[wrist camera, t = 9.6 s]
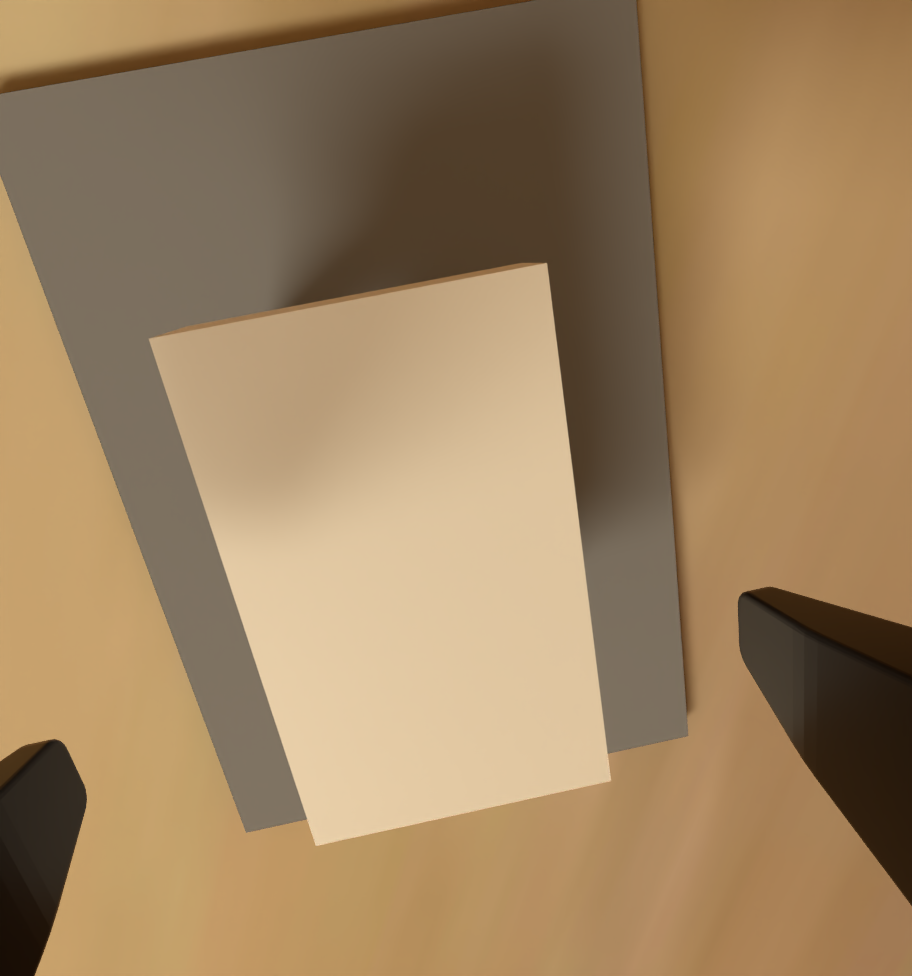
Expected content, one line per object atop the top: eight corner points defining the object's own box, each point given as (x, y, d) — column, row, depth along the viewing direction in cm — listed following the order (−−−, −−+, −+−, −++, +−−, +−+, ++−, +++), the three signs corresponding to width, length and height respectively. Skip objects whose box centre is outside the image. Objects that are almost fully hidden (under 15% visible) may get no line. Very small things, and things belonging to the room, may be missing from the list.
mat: (625, -7, 15) (635, -18, 14) (680, 723, 21) (688, 735, 21) (-12, 105, 14) (-28, 98, 14) (249, 817, 21) (246, 832, 20)
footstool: (544, 625, 19) (610, 780, 13) (337, 669, 19) (316, 845, 13) (488, 262, 16) (547, 262, 10) (235, 310, 15) (148, 338, 10)
